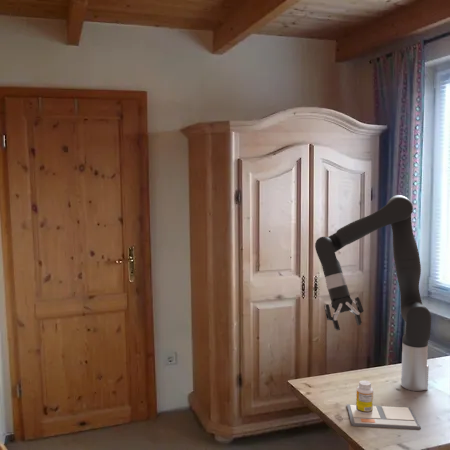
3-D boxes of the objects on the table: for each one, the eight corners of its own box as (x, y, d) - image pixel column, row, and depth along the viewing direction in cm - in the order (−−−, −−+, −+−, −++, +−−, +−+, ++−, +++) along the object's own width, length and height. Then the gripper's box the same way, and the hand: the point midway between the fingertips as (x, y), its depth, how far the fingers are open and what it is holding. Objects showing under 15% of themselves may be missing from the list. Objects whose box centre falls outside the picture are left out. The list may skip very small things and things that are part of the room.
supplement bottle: (360, 405, 179) (361, 378, 178) (375, 410, 175) (376, 382, 174) (353, 411, 174) (354, 383, 173) (368, 416, 171) (369, 387, 170)
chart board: (410, 409, 178) (410, 406, 178) (420, 429, 164) (420, 425, 164) (346, 406, 181) (346, 403, 181) (351, 425, 167) (351, 422, 167)
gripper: (322, 289, 191) (334, 331, 188) (357, 281, 193) (369, 322, 190) (317, 291, 199) (328, 332, 195) (350, 283, 201) (362, 324, 197)
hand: (348, 327), depth 192 cm, fingers open, 8 cm apart
